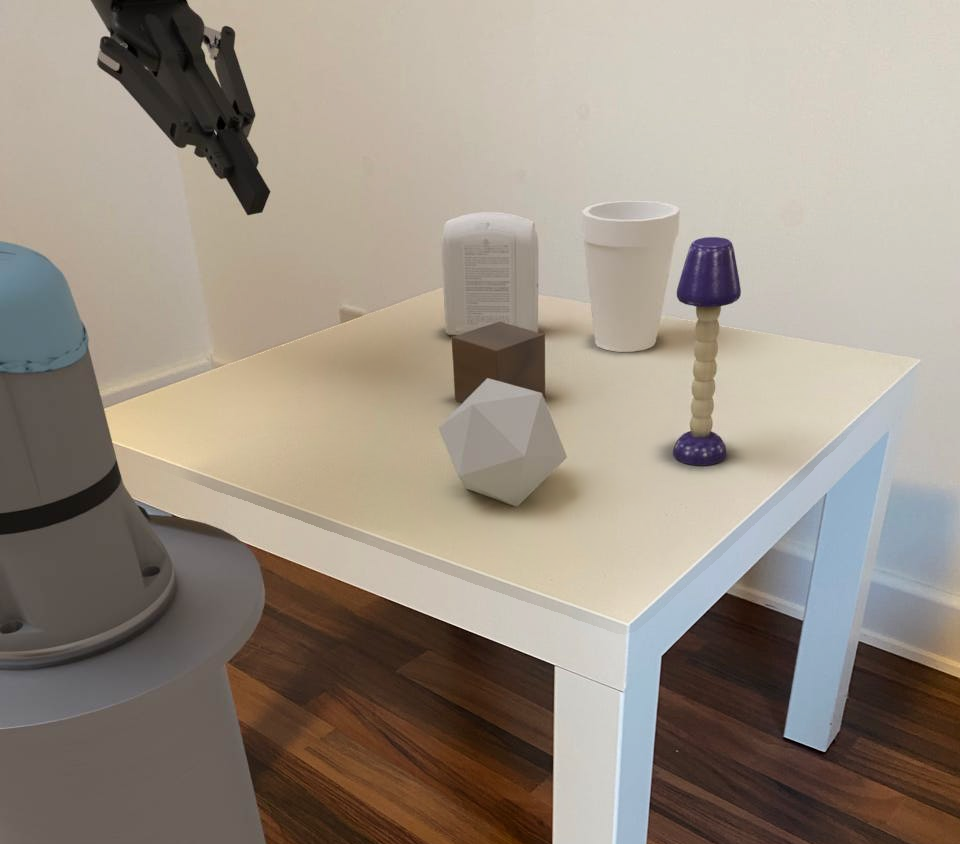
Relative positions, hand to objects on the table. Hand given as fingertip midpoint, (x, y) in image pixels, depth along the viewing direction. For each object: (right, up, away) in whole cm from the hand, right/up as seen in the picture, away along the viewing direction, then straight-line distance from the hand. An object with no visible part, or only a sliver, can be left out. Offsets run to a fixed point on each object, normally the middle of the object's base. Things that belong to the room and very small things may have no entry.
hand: (258, 203), depth 87 cm
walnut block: (+21, -15, +7) cm, 27 cm away
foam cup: (+34, -6, +19) cm, 40 cm away
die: (+21, -26, -9) cm, 35 cm away
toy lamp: (+37, -23, -5) cm, 43 cm away
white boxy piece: (+20, -4, +24) cm, 31 cm away
